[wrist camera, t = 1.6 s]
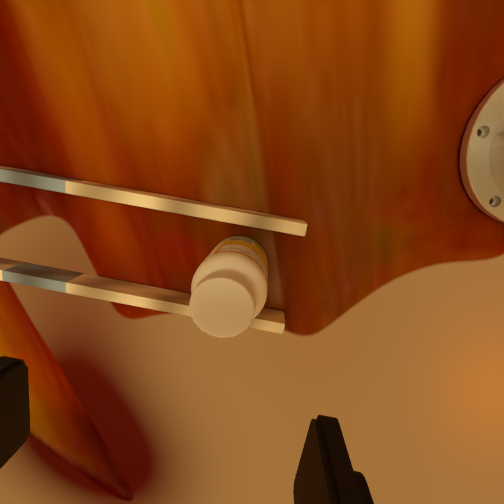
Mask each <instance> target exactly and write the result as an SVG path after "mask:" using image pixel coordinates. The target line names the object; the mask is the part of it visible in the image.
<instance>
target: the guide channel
mask: <svg viewBox="0 0 504 504" xmlns="http://www.w3.org/2000/svg"><path fill="white" fill-rule="evenodd" d="M0 181H2V182H7V183H13V184H18V185H24V186H29V187H35V188H41V189H46V190H52V191H57V192H63V193H68V194H74V195H79V196H85V197H90V198H96V199H101V200H107V201H112V202H118V203H123V204H129V205H134V206H140V207H145V208H151V209H156V210H162V211H167V212H173V213H178V214H184V215H189V216H195V217H200V218H206V219H211V220H217V221H222V222H228V223H233V224H239V225H244V226H250V227H255V228H261V229H266V230H272V231H277V232H283V233H288V234H294V235H299V236H305V234H306V229H307V225H308V224H307V223H306V222H305V221H304V220H300V219H295V218H289V217H284V216H278V215H272V214H267V213H261V212H256V211H250V210H245V209H239V208H234V207H228V206H223V205H217V204H211V203H206V202H200V201H195V200H189V199H184V198H178V197H173V196H167V195H161V194H156V193H150V192H145V191H139V190H134V189H128V188H123V187H117V186H112V185H106V184H100V183H95V182H89V181H84V180H78V179H73V178H67V177H62V176H56V175H50V174H45V173H39V172H34V171H28V170H23V169H17V168H12V167H6V166H1V165H0ZM0 280H2V281H7V282H13V283H18V284H23V285H28V286H34V287H39V288H44V289H50V290H55V291H60V292H66V293H70V294H76V295H81V296H86V297H91V298H97V299H102V300H107V301H112V302H117V303H122V304H128V305H133V306H138V307H143V308H149V309H154V310H159V311H164V312H170V313H175V314H180V315H186V316H191V314H190V309H189V303H190V298H191V295H192V294H190V293H184V292H179V291H174V290H169V289H163V288H158V287H153V286H147V285H142V284H137V283H131V282H126V281H121V280H116V279H110V278H105V277H100V276H94V275H89V274H84V273H79V272H73V271H68V270H62V269H57V268H52V267H47V266H41V265H36V264H31V263H26V262H20V261H15V260H10V259H4V258H0ZM284 327H285V318H284V311H280V310H274V309H269V308H264V307H263V308H262V310H261V311H260V313H259V314H258V315H257V316H256V317H255V318H254V319H253V320H252V322H251V323H250V325H249V326H248V328H253V329H259V330H264V331H270V332H274V333H280V334H283V331H284Z"/></svg>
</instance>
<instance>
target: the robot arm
mask: <svg viewBox="0 0 504 504" xmlns="http://www.w3.org/2000/svg"><path fill="white" fill-rule="evenodd" d="M477 132H478V134H477ZM460 172H461V177H462V182H463V184H464V187H465V189H466V191H467V194H468V196H469V197H470V198H471V200H472V201H473V202H474V204H475V205H476V206H477V207H478V208H479V209H480V210H481V211H483V212H484V213H485V214H486V215H488V216H490V217H492V218H493V219H495V220H497V221H500V222H503V223H504V78H503V79H502V80H501V81H500V82H499V83H498V84H497V85H496V86H495V87H493V88H492V89H491V90H490V91H489V93H488V94H487V95H486V96H485V98H484V99H483V100H482V101H481V102H480V104H479V105H478V107H477V108H476V110H475V112H474V113H473V115H472V117H471V118H470V120H469V123H468V125H467V128H466V130H465V133H464V136H463V140H462V145H461V150H460ZM29 433H30V412H29V385H28V367H27V366H26V365H25V362H24V361H23V360H21V359H17V358H11V357H6V356H2V357H0V468H1V467H2V466H3V465H4V464H5V463H6V462H7V461H8V460H9V459H10V458H11V457H12V456H13V455H14V453H15V452H16V451H17V450H18V449H19V448H20V447H21V446H22V445H23V444H24V443H25V441H26V440H27V438H28V436H29ZM294 504H374V503H373V500H372V497H371V494H370V491H369V488H368V485H367V482H366V480H365V477H364V476H363V474H362V473H360V472H357V471H353V468H352V465H351V461H350V458H349V455H348V452H347V448H346V445H345V442H344V438H343V435H342V431H341V428H340V425H339V422H338V419H337V418H333V417H328V416H323V415H318V417H317V419H312V420H311V423H310V426H309V430H308V433H307V437H306V441H305V444H304V448H303V452H302V455H301V459H300V462H299V466H298V470H297V473H296V477H295V481H294Z"/></svg>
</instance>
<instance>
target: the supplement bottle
mask: <svg viewBox="0 0 504 504" xmlns="http://www.w3.org/2000/svg"><path fill="white" fill-rule="evenodd" d="M267 289H268V259H267V255H266V253H265V251H264V249H263V248H262V246H261V245H260V244H259V243H257V242H256V241H255V240H253V239H251V238H248V237H245V236H232V237H229V238H226V239H224V240H223V241H221V242H220V243H219V244H218V245H217V246H216V247H215V248H214V249H213V250H212V252H211V253H210V254H209V255H208V256H207V257H206V259H205V260H204V261H203V262H202V263H201V264H200V266H199V267H198V269H197V270H196V272H195V274H194V276H193V279H192V284H191V294H192V295H191V298H190V303H189V309H190V314H191V317H192V319H193V321H194V323H195V324H196V325H197V326H198V327H199V328H200V329H201V330H202V331H203V332H205V333H206V334H209V335H211V336H214V337H218V338H228V337H233V336H236V335H238V334H240V333H242V332H243V331H244V330H246V329H247V328H248V326H249V325H250V323H251V322H252V320H253V319H254V318H255V317H256V316H257V315H258V314H259V313H260V311H261V310H262V308H263V306H264V304H265V302H266V298H267Z"/></svg>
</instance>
